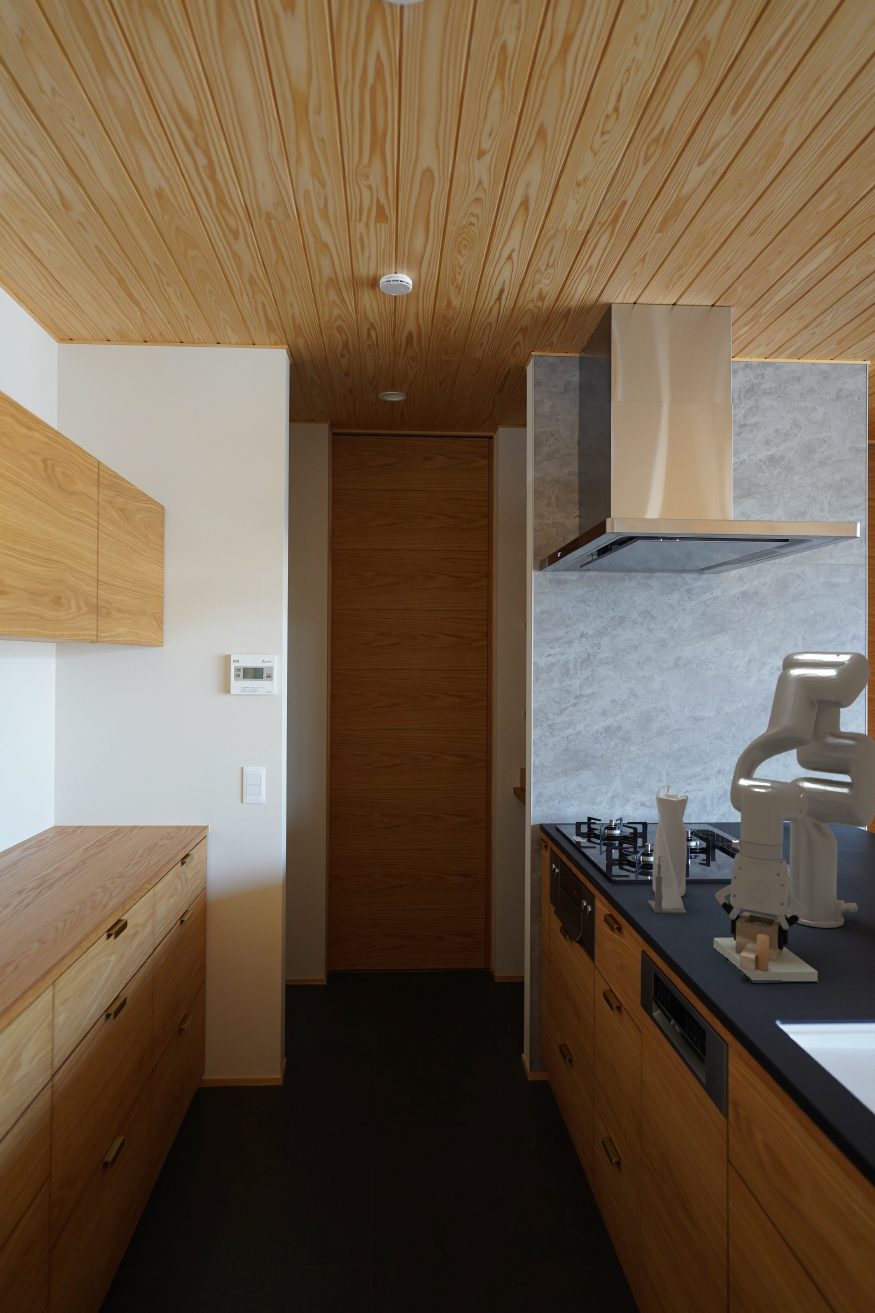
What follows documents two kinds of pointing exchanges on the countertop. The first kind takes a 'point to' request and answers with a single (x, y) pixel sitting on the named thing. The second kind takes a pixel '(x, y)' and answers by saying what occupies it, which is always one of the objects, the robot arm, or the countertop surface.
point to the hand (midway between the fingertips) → (758, 942)
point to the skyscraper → (670, 853)
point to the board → (770, 964)
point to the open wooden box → (755, 938)
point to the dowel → (762, 952)
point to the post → (761, 922)
